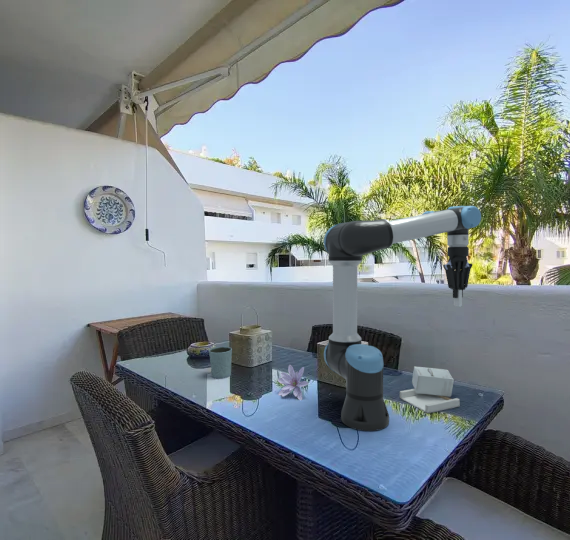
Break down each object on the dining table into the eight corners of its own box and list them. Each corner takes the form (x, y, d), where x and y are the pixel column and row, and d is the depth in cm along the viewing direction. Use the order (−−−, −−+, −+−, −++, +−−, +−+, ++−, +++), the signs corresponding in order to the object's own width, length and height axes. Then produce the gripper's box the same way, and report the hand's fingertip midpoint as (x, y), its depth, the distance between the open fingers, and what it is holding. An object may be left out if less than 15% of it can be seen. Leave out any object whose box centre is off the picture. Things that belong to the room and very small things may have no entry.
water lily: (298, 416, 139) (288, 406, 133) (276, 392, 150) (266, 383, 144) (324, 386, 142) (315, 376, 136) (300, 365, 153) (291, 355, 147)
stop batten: (455, 405, 129) (455, 402, 129) (430, 393, 140) (430, 390, 140) (457, 404, 130) (457, 401, 129) (432, 393, 141) (432, 390, 141)
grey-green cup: (234, 372, 170) (234, 346, 169) (229, 379, 160) (228, 352, 159) (213, 372, 171) (212, 346, 170) (206, 379, 161) (205, 352, 160)
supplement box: (454, 379, 132) (418, 375, 134) (451, 397, 134) (415, 393, 135) (448, 369, 139) (413, 365, 141) (444, 386, 141) (411, 382, 142)
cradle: (427, 413, 123) (427, 406, 123) (399, 398, 137) (399, 391, 136) (459, 406, 128) (459, 399, 128) (429, 392, 142) (429, 385, 142)
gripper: (452, 246, 138) (452, 308, 139) (478, 245, 143) (478, 306, 144) (437, 246, 145) (437, 306, 146) (462, 246, 150) (462, 303, 151)
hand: (457, 306), depth 145 cm, fingers closed
